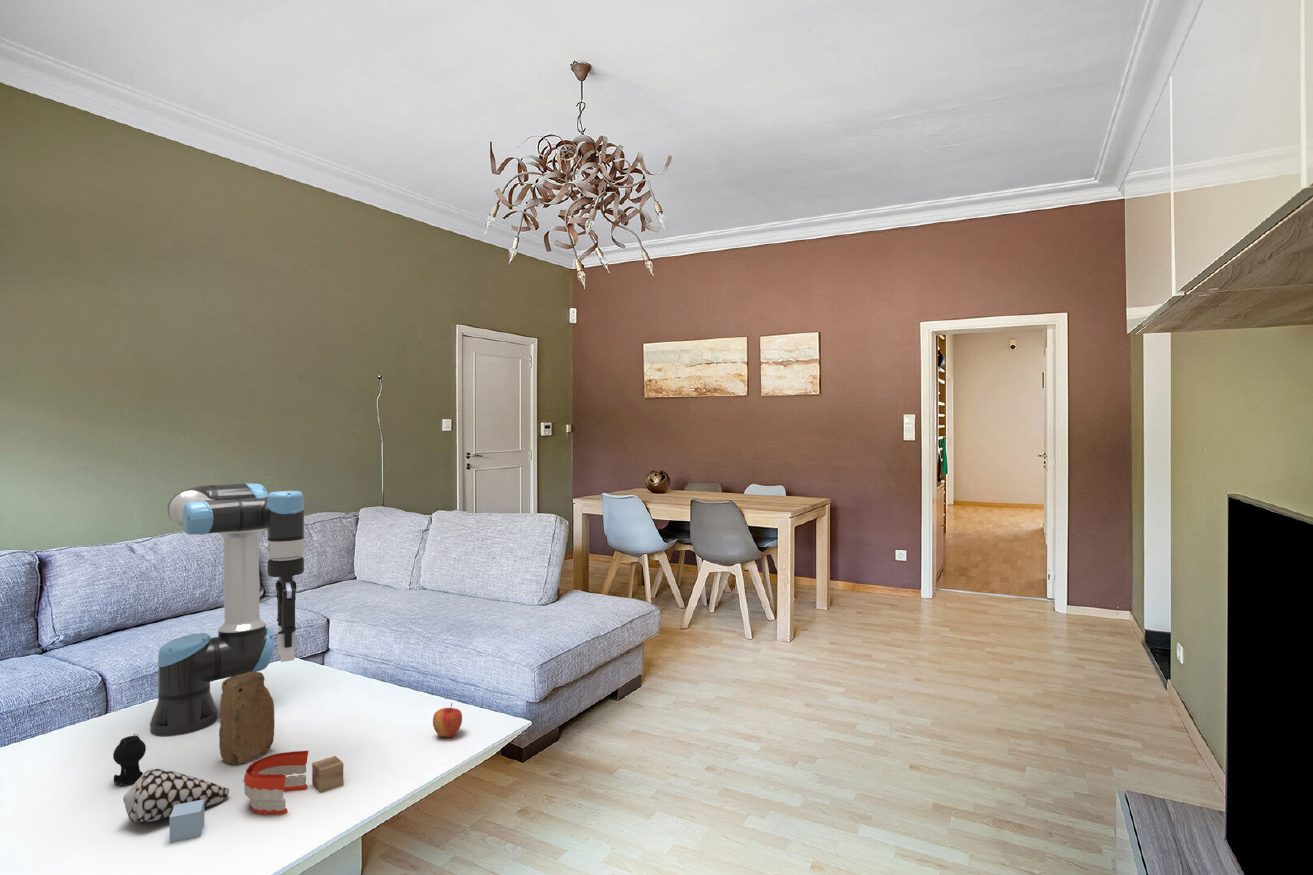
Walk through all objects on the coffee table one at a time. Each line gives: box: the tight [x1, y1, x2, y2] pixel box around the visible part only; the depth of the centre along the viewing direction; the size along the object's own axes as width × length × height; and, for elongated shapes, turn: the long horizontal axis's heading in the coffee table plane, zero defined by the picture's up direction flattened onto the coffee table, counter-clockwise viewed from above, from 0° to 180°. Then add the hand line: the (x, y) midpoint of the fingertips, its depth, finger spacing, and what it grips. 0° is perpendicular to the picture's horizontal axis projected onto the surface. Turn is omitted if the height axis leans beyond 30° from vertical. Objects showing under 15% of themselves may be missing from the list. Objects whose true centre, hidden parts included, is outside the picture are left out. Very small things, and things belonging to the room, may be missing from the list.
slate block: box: [169, 799, 205, 844], centre depth 135 cm, size 5×5×5 cm
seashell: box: [122, 768, 230, 823], centre depth 143 cm, size 16×13×10 cm
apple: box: [432, 702, 463, 738], centre depth 179 cm, size 7×7×8 cm
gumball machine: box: [112, 733, 147, 788], centre depth 156 cm, size 7×6×10 cm
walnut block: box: [311, 755, 344, 794], centre depth 154 cm, size 5×5×5 cm
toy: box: [243, 750, 309, 816], centre depth 147 cm, size 12×10×8 cm
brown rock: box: [218, 671, 275, 765], centre depth 168 cm, size 11×8×20 cm
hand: (286, 657), depth 160 cm, fingers open, 5 cm apart
